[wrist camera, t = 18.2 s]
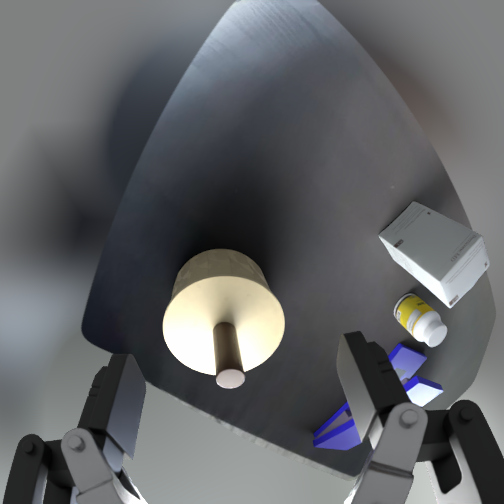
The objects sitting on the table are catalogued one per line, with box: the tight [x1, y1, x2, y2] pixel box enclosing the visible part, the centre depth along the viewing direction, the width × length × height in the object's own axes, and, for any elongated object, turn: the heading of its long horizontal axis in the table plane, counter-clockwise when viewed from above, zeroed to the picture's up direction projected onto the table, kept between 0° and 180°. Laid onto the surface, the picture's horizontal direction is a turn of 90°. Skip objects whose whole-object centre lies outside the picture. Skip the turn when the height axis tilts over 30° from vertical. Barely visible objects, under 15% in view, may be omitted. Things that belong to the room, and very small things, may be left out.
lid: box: [163, 274, 285, 388], centre depth 29 cm, size 13×13×9 cm
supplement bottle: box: [394, 294, 447, 347], centre depth 42 cm, size 5×5×10 cm
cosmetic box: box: [379, 201, 490, 308], centre depth 35 cm, size 8×6×15 cm
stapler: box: [313, 343, 443, 450], centre depth 50 cm, size 12×28×10 cm, turn 148°
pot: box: [171, 249, 270, 300], centre depth 37 cm, size 12×12×8 cm
